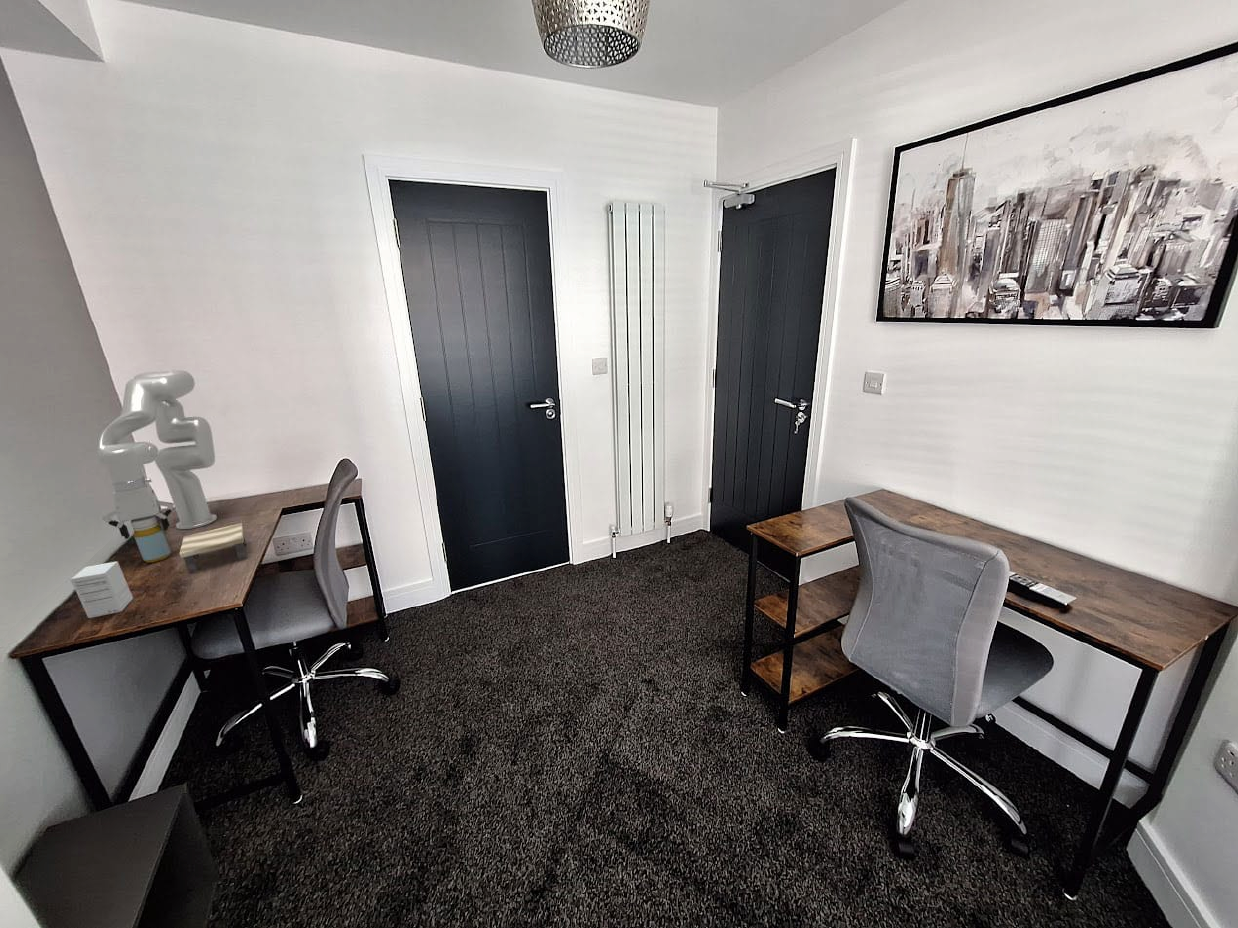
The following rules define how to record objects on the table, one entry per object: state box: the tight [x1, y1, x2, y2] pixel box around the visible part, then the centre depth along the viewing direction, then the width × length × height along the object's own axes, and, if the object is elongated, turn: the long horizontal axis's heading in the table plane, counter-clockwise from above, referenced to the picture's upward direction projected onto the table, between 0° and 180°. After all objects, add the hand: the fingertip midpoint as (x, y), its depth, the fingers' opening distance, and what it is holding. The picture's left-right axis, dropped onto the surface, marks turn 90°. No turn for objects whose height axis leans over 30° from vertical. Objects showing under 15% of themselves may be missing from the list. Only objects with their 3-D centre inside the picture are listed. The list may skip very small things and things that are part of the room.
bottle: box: [130, 515, 172, 564], centre depth 164 cm, size 7×7×15 cm
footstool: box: [179, 522, 247, 574], centre depth 164 cm, size 16×16×8 cm
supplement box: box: [70, 561, 134, 619], centre depth 136 cm, size 7×7×13 cm
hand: (147, 533), depth 163 cm, fingers open, 9 cm apart
